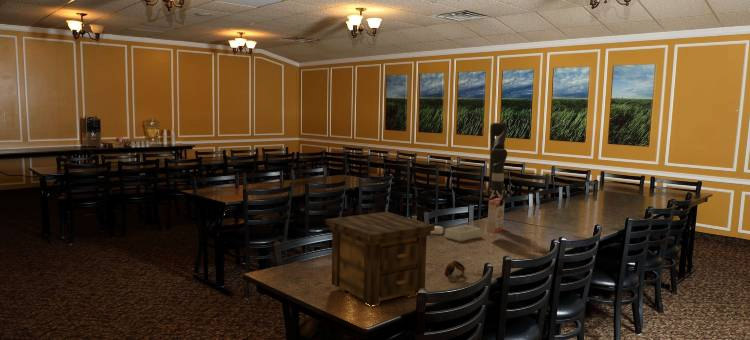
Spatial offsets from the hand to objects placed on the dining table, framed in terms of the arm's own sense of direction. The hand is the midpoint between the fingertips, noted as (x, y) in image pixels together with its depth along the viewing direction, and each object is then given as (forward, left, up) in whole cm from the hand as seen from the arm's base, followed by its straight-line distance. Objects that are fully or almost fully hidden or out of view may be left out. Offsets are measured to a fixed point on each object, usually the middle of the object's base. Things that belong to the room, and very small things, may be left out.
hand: (496, 205), depth 340 cm
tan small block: (+19, -34, -23) cm, 45 cm away
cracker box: (0, 0, -18) cm, 18 cm away
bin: (+14, -15, -23) cm, 31 cm away
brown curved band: (+79, +35, -23) cm, 90 cm away
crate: (+126, +32, -23) cm, 132 cm away
